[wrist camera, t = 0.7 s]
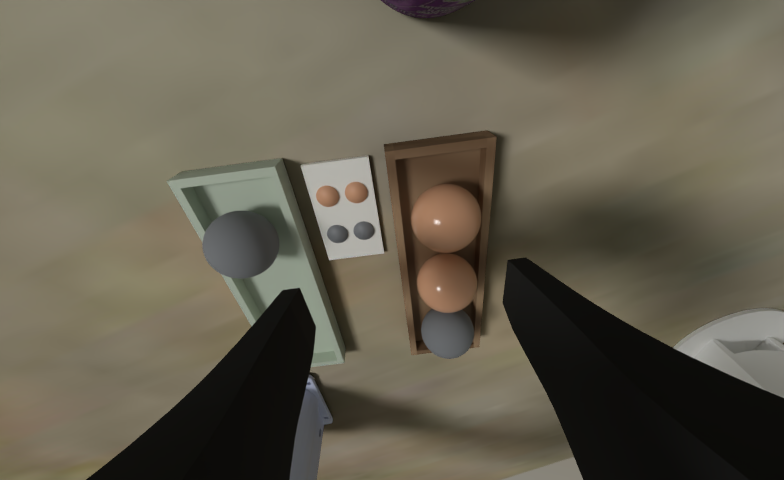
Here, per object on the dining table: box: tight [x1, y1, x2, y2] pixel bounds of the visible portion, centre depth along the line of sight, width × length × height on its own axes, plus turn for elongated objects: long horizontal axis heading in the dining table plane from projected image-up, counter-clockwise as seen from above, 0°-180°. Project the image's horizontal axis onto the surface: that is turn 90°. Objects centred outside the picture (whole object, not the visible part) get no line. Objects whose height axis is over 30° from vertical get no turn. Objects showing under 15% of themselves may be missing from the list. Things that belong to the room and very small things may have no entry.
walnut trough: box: [384, 131, 497, 355], centre depth 21 cm, size 18×6×2 cm, turn 7°
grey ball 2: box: [421, 309, 474, 359], centre depth 22 cm, size 4×4×4 cm
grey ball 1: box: [203, 211, 279, 279], centre depth 17 cm, size 4×4×4 cm
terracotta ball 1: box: [411, 183, 481, 253], centre depth 17 cm, size 4×4×4 cm
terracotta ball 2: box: [417, 253, 477, 313], centre depth 19 cm, size 4×4×4 cm
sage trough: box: [167, 155, 384, 367], centre depth 21 cm, size 18×11×2 cm, turn 7°
